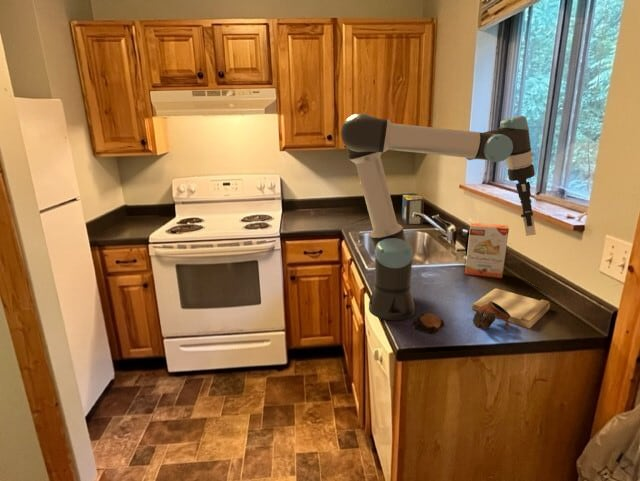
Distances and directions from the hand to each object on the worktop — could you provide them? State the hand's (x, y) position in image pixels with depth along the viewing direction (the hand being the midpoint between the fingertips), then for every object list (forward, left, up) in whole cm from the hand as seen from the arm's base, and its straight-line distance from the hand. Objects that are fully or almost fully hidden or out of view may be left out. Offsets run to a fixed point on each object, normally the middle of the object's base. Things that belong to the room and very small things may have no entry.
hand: (529, 228), depth 131 cm
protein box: (-90, +69, -26) cm, 116 cm away
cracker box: (-19, +13, -26) cm, 35 cm away
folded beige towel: (+1, -11, -26) cm, 28 cm away
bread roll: (-13, -39, -26) cm, 49 cm away
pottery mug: (+1, -27, -26) cm, 37 cm away
